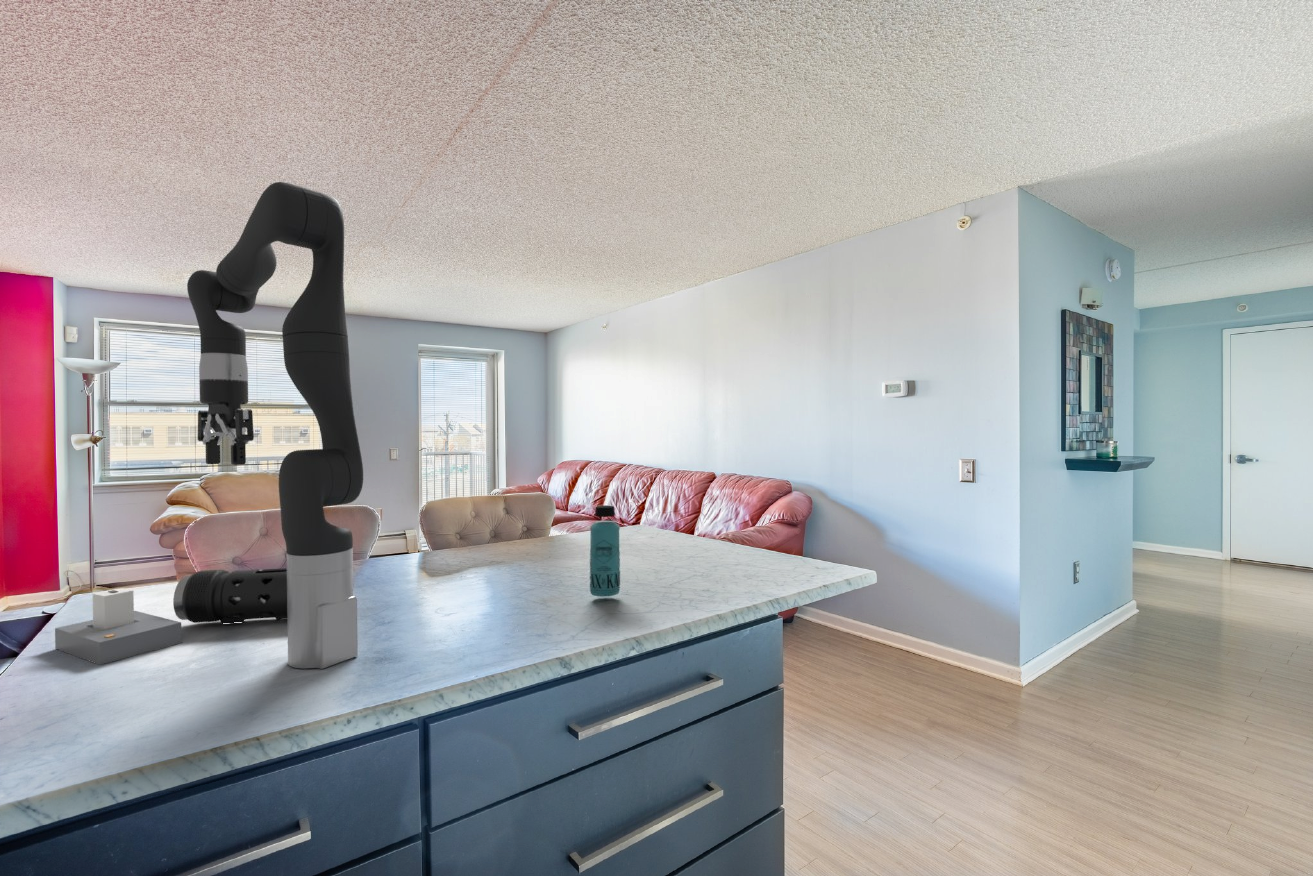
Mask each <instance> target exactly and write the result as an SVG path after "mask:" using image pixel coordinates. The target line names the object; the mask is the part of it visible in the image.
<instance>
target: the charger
mask: <svg viewBox="0 0 1313 876" xmlns="http://www.w3.org/2000/svg"><path fill="white" fill-rule="evenodd" d="M134 602H135V601H134V590H132V589H127V588H124V587H121V588H115V589H109V590H105V591H98V592H96V593H92V620H93V628H94V629H97V630H100V631H101V630H105V629H109V628H114V627H118V626H122V625H127V624H131V623H134V611H135V607H134V605H135V603H134Z"/></svg>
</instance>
